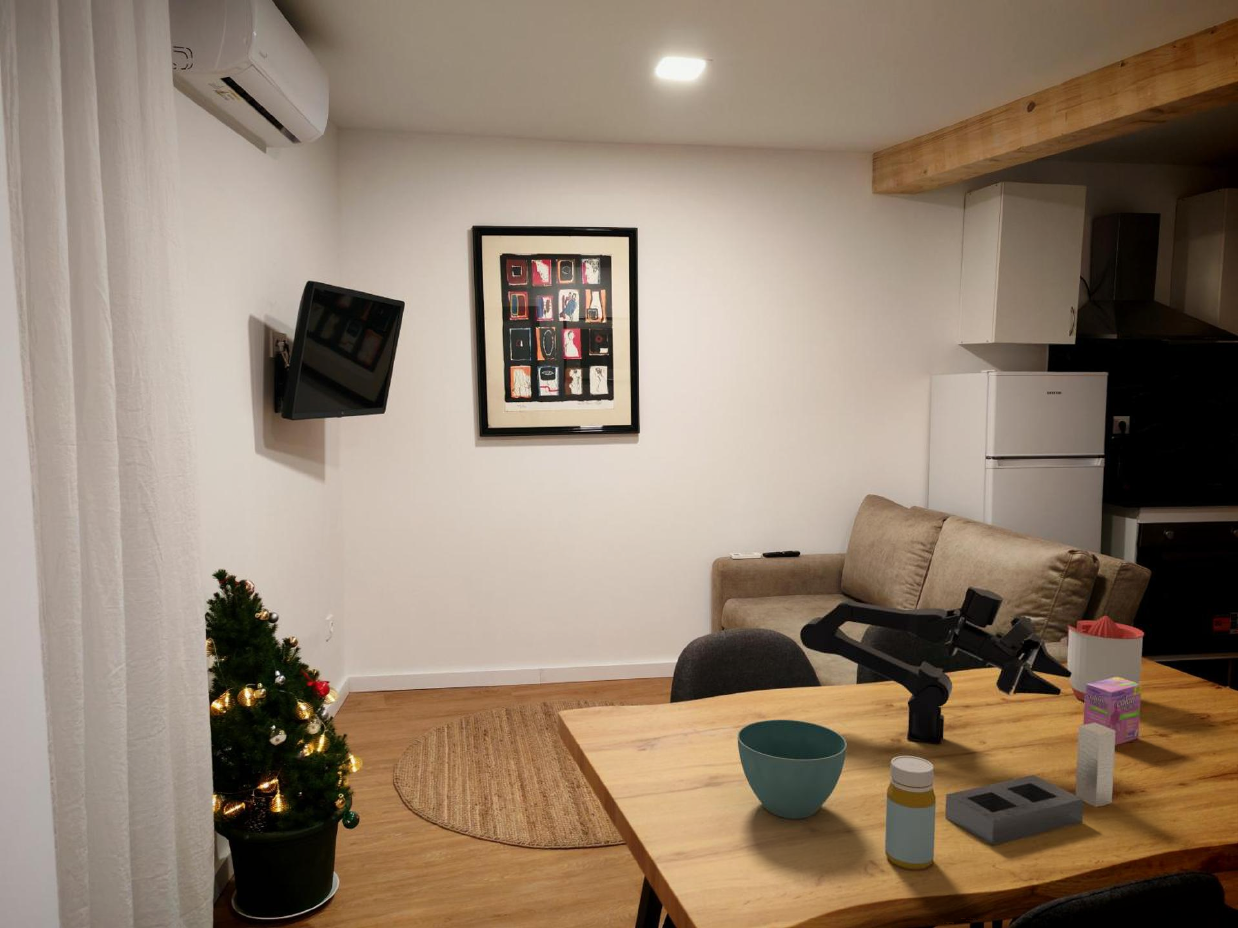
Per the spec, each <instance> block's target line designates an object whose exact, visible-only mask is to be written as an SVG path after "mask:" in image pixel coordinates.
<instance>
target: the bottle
mask: <svg viewBox="0 0 1238 928" xmlns="http://www.w3.org/2000/svg"><path fill="white" fill-rule="evenodd" d="M934 769H935V768H934V764H933V763H931V762H930V761H929V760H927V759H925V758H921V757H918V756H913V755H898V756H896V757H893V758H892V759H891V761H890V773H889V774H890V778H889V779H890V781H889V785H888V787H887V789H886V805H885V806H886V807H885V808H886V812H885V837H884V838H885V839H884V849H885V850H884V851H885V852H884V853H885V855H886V857H887V858H888V860H889V861H890V862H891V863H892V864H894V866H896V867H897V866H898V867H900V868H902V869H905V870H911V871H912V870H913V871H921V870H924V869H927V868H928V867H930V865H932V864H933V862H934V856H935V832H936V831H935V830H936V804H937V803H936V802H937V801H936V794H935V791H934V774H935V771H934Z"/></svg>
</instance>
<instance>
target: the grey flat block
mask: <svg viewBox="0 0 1238 928" xmlns="http://www.w3.org/2000/svg"><path fill="white" fill-rule="evenodd" d="M1083 812H1084V801H1083V799H1082V798H1080V797H1078V796H1076V795H1075V793H1072V792H1070V791H1068V790H1066V789H1064V788H1062V787H1060V786H1057V785H1055V784H1054V783H1051V782H1049V781H1047V780H1045V779H1042V778H1040V777H1038V776H1036V775H1035V774H1031V775H1028V776H1027V775H1026V776H1023V777H1019V778H1018V777H1017V778H1014V779H1009V780H1005V781H1000V782H995V783H991V784H988V785H983V786H978V787H974V788H969V789H966V790H965V789H964V790H960V791H956V792H952V793H947V794H945V815H944V816H945V819H947V820H948V821H950V822H952V823H953V824H955V825H957V826H959V827H960V828H962V829H963V828H964V829H963V830H965V831H967V832H969V833H970V834H972V835H974V836H975V837H977V838H979V839H980V840H982V841H983V842H986V843H987V844H988V845H990V846H992V847H993V846H997V845H1000V844H1005V843H1008V842H1012V841H1016V840H1020V839H1023V838H1027V837H1028V838H1029V837H1031V836H1035V835H1038V834H1043V833H1047V832H1051V831H1054V830H1057V829H1058V830H1059V829H1063V828H1065V826H1066V827H1070V826H1073V825H1077V824H1080V823H1083V817H1084V815H1083V814H1084V813H1083ZM1069 825H1070V826H1069ZM1050 830H1051V831H1050Z"/></svg>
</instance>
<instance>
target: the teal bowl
mask: <svg viewBox="0 0 1238 928" xmlns="http://www.w3.org/2000/svg"><path fill="white" fill-rule="evenodd" d="M847 745H848V744H847V740H846V739H845V738H844V737H843V736H842V735H841V734H840V733H838V732H837V731H835V730H833V729H831V728H830V727H827V726H824V725H820V724H817V723H813V722H809V721H805V720H804V721H803V720H795V719H768V720H767V719H765V720H761V721H756V722H752V723H750V724H747V725H744V726H743V727H741V728H740V729H739V731H738V733H737V747H738V753H739V759H740V763H741V767H742V769H743V773H744V776H745V778H746V780H747V783H748V785H749V786H750V787H749V788H751V790H752V792H753V793H754V795H755V796H756V798H757V799H758V800H759V802H760V803H761V804H762V806H763V807H764V808H765V809H766V810H767V811H768V812H769V813H771V814H773V815H774V816H777V817H780V818H785V819H791V820H796V819H805V818H808V817H810V816H812V815H813V814H815V813H816V812H817V811H818V810H819V809H820V808H821V807H822V806H823V805H824V804H825V803H826V801H827V800H828V799H829V797H830V796H831V794H832V793H833V792H834V790H835V788H836V786H837V784H838V781H839V780H840V777H841V775H842V771H843V768H844V765H845V760H846V754H847V747H848V746H847Z"/></svg>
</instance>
